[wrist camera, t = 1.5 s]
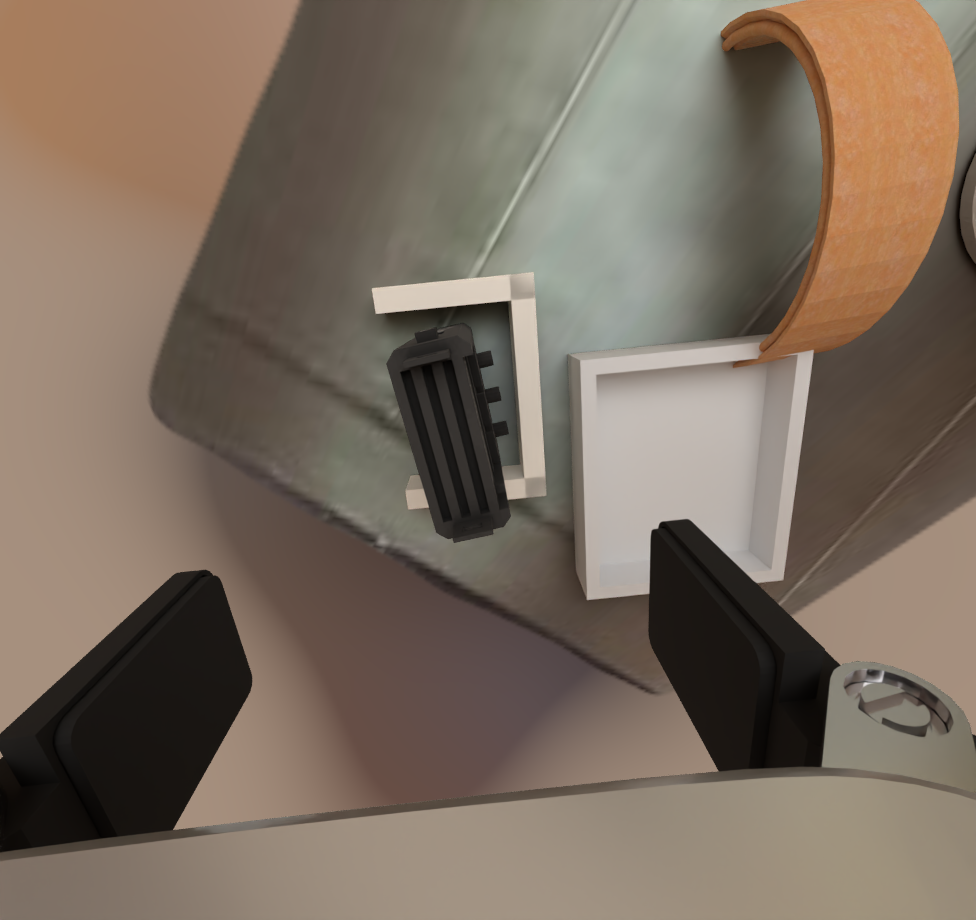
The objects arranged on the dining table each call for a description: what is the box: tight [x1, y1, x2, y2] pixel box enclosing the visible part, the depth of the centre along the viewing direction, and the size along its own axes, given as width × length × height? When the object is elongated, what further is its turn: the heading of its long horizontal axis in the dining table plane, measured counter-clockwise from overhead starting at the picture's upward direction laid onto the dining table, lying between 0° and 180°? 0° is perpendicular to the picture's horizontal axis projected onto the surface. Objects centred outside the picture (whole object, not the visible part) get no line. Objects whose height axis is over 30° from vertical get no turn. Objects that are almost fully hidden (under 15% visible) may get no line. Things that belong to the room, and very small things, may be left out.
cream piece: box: [372, 272, 547, 510], centre depth 32 cm, size 10×15×3 cm, turn 5°
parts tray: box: [568, 334, 814, 600], centre depth 34 cm, size 15×18×4 cm
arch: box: [721, 0, 959, 368], centre depth 26 cm, size 6×20×10 cm, turn 10°
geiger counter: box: [387, 323, 511, 543], centre depth 26 cm, size 10×4×15 cm, turn 13°
